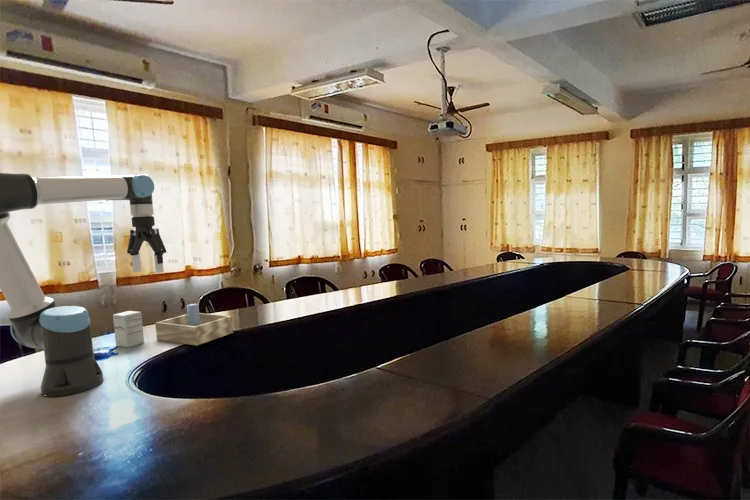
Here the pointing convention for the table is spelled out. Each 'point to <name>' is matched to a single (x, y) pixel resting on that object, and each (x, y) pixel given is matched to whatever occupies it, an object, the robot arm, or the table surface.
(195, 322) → the peg
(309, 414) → the table surface
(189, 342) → the crate
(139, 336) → the supplement box
